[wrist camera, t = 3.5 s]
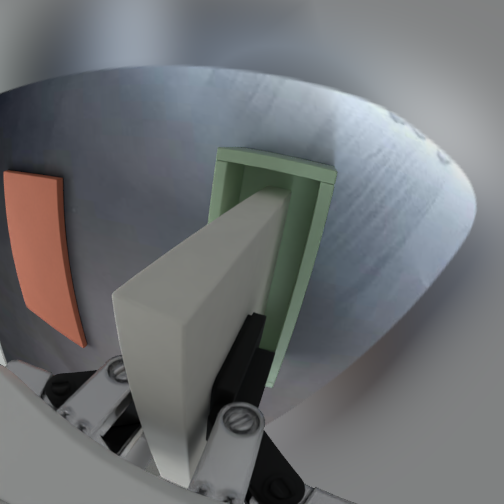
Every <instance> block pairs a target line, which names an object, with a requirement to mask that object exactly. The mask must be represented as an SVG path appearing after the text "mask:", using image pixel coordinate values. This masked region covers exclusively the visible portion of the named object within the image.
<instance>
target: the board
mask: <svg viewBox="0 0 504 504" xmlns="http://www.w3.org/2000/svg"><path fill="white" fill-rule="evenodd" d="M291 193H292V191H291V190H286V189H282V188H277V187H273V186H266V187H264V188H263V189H261V190H260V191H258V192H256V193H255V194H253V195H252V196H250V197H249V198H247V199H245V200H244V201H242V202H241V203H239V204H238V205H236V206H235V207H233V208H232V209H230V210H229V211H227V212H226V213H224V214H223V215H221V216H220V217H218V218H217V219H215V220H214V221H212V222H211V223H209V224H208V225H206V226H205V227H203V228H202V229H200V230H199V231H197V232H196V233H194V234H193V235H191V236H190V237H189V238H187V239H186V240H184V241H183V242H181V243H180V244H178V245H177V246H176V247H174V248H173V249H171V250H170V251H169V252H167V253H166V254H164V255H163V256H162V257H160V258H159V259H157V260H156V261H155V262H153V263H152V264H150V265H149V266H148V267H146V268H145V269H144V270H142V271H141V272H140V273H138V274H137V275H135V276H134V277H133V278H131V279H130V280H129V281H127V282H126V283H125V284H123V285H122V286H121V287H119V288H118V289H117V290H115V291H114V292H113V294H112V301H113V308H114V314H115V320H116V326H117V332H118V337H119V343H120V347H121V352H122V357H123V361H124V366H125V370H126V374H127V378H128V382H129V386H130V389H131V393H132V397H133V400H134V403H135V407H136V410H137V413H138V416H139V420H140V423H141V426H142V429H143V431H144V434H145V437H146V440H147V443H148V445H149V448H150V451H151V453H152V456H153V458H154V461H155V463H156V465H157V468H158V470H159V472H160V475H161V477H162V478H165V479H167V480H169V481H172V482H174V483H176V484H179V485H181V486H183V487H186V488H188V486H189V484H190V481H191V479H192V477H193V474H194V472H195V470H196V467H197V465H198V463H199V460H200V458H201V455H202V453H203V451H204V448H205V446H206V443H207V441H206V431H207V420H208V415H209V410H210V400H211V391H212V386H213V383H214V381H215V378H216V376H217V374H218V372H219V370H220V369H221V367H222V365H223V363H224V361H225V359H226V357H227V355H228V353H229V351H230V349H231V347H232V345H233V343H234V341H235V339H236V337H237V335H238V333H239V331H240V329H241V327H242V325H243V323H244V321H245V319H246V317H247V315H248V314H249V315H252V314H253V312H255V313H258V314H262V315H264V313H265V309H266V305H267V301H268V297H269V292H270V288H271V284H272V280H273V275H274V271H275V267H276V262H277V258H278V253H279V249H280V244H281V240H282V235H283V231H284V226H285V222H286V217H287V212H288V208H289V203H290V198H291Z"/></svg>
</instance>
